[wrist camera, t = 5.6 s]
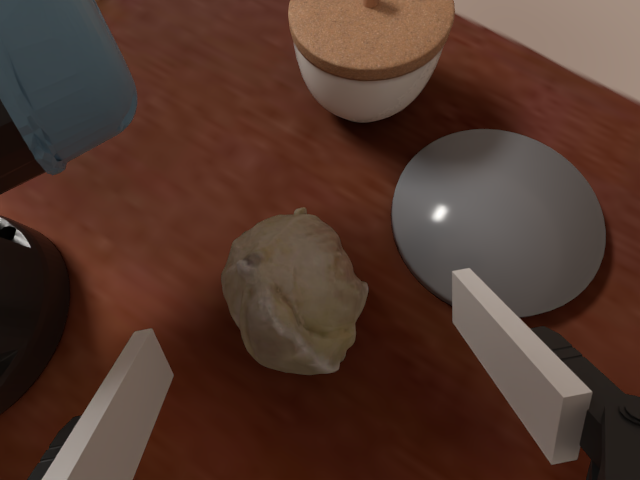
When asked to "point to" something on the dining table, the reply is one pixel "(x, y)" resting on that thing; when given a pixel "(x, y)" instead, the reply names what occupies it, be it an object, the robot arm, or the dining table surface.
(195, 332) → the dining table surface
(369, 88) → the lidded jar
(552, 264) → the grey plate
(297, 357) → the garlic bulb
